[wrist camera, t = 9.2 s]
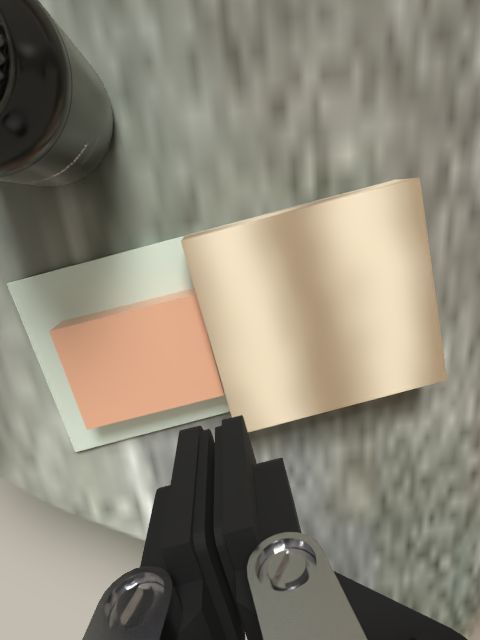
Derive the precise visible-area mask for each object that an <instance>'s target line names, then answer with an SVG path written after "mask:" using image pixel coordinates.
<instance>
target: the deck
mask: <svg viewBox="0 0 480 640" xmlns="http://www.w3.org/2000/svg"><path fill="white" fill-rule="evenodd" d="M181 243H182V247H183V250H184V254H185V257H186V261H187V264H188V267H189V271H190V274H191V278H192V281H193V285H194V288H195V292H196V295H197V298H198V302H199V305H200V309H201V312H202V316H203V319H204V323H205V326H206V330H207V333H208V336H209V340H210V343H211V347H212V350H213V354H214V357H215V361H216V364H217V367H218V371H219V374H220V378H221V381H222V385H223V388H224V392H225V395H226V399H227V402H228V405H229V409H230V412H231V416H232V417H236V416H240V415H242V416H243V418H244V421H245V424H246V428H247V431H248V432H252V431H255V430H259V429H263V428H267V427H271V426H274V425H278V424H282V423H286V422H290V421H293V420H297V419H301V418H305V417H309V416H312V415H316V414H320V413H324V412H328V411H331V410H335V409H339V408H343V407H347V406H350V405H354V404H358V403H362V402H366V401H369V400H373V399H377V398H381V397H385V396H388V395H392V394H396V393H400V392H404V391H407V390H411V389H415V388H419V387H423V386H426V385H430V384H434V383H438V382H442V381H445V380H447V377H446V369H445V362H444V354H443V347H442V340H441V332H440V325H439V317H438V310H437V303H436V295H435V288H434V280H433V273H432V266H431V258H430V251H429V243H428V236H427V229H426V221H425V214H424V206H423V199H422V191H421V184H420V178H411V179H402V180H394V181H390V182H386V183H383V184H379V185H375V186H371V187H368V188H364V189H360V190H356V191H353V192H349V193H345V194H341V195H337V196H334V197H330V198H326V199H322V200H319V201H315V202H311V203H307V204H304V205H300V206H296V207H292V208H289V209H285V210H281V211H277V212H273V213H270V214H266V215H262V216H258V217H255V218H251V219H247V220H243V221H240V222H236V223H232V224H228V225H225V226H221V227H217V228H213V229H209V230H206V231H202V232H198V233H194V234H191V235H187V236H184V237H183V239H182V240H181Z"/></svg>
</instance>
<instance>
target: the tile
mask: <svg viewBox="0 0 480 640" xmlns="http://www.w3.org/2000/svg"><path fill="white" fill-rule="evenodd" d="M49 332H50V334H51V337H52V340H53V342H54V345H55V348H56V350H57V353H58V355H59V358H60V361H61V363H62V366H63V369H64V371H65V374H66V376H67V379H68V382H69V384H70V387H71V390H72V392H73V395H74V397H75V400H76V403H77V405H78V408H79V411H80V413H81V416H82V418H83V421H84V424H85V426H86V429H87V430H88V429H92V428H96V427H100V426H104V425H108V424H112V423H116V422H120V421H124V420H128V419H132V418H136V417H140V416H144V415H148V414H152V413H156V412H160V411H164V410H168V409H172V408H176V407H179V406H183V405H187V404H191V403H195V402H199V401H203V400H207V399H211V398H215V397H219V396H223V395H224V388H223V385H222V381H221V378H220V374H219V371H218V367H217V364H216V361H215V357H214V354H213V350H212V347H211V343H210V340H209V336H208V333H207V330H206V326H205V323H204V319H203V316H202V312H201V309H200V305H199V302H198V298H197V295H196V292H195V288H191V289H187V290H183V291H179V292H175V293H171V294H167V295H163V296H159V297H156V298H152V299H148V300H144V301H140V302H136V303H132V304H128V305H124V306H120V307H116V308H112V309H108V310H104V311H100V312H96V313H92V314H88V315H84V316H80V317H76V318H72V319H68V320H64V321H61V322H60V323H59V324H58V325H56V326H55V327H54V328H53V329H51V330H50V331H49Z"/></svg>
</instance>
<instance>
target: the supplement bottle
mask: <svg viewBox="0 0 480 640" xmlns="http://www.w3.org/2000/svg"><path fill="white" fill-rule="evenodd" d="M112 132H113V113H112V107H111V103H110V99H109V96H108V94H107V91H106V89H105V87H104V85H103V83H102V81H101V79H100V78H99V76H98V75H97V73H96V72H95V70H94V69H93V68H92V66H91V65H90V64H89V62H88V61H87V60H86V59H85V58H84V56H83V55H82V54H81V53H80V51H79V50H78V49H77V48H76V46H75V45H74V44H73V43H72V41H71V40H70V39H69V38H68V37H67V35H66V34H65V33H64V32H63V30H62V29H61V28H60V27H59V25H58V24H57V23H56V22H55V21H54V19H53V18H52V17H51V16H50V14H49V13H48V12H47V11H46V9H45V8H44V7H43V6H42V5H41V4H40V2H39V1H38V0H0V181H4V182H12V183H20V184H29V185H38V186H61V185H66V184H70V183H73V182H76V181H78V180H80V179H82V178H84V177H85V176H87V175H88V174H90V173H91V172H92V171H93V170H94V169H95V168H96V167H97V166H98V165H99V164H100V162H101V161H102V159H103V158H104V156H105V154H106V152H107V150H108V148H109V145H110V142H111V138H112Z"/></svg>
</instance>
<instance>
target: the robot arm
mask: <svg viewBox="0 0 480 640" xmlns="http://www.w3.org/2000/svg"><path fill="white" fill-rule="evenodd" d="M245 633H246V636H247V639H248V640H467V639H466V638H465V637H463V636H462V635H460V634H459V633H457V632H456V631H454V630H453V629H451V628H449V627H447V626H445V625H443V624H441V623H439V622H437V621H435V620H433V619H431V618H429V617H427V616H425V615H422V614H420V613H418V612H416V611H414V610H412V609H410V608H408V607H406V606H404V605H402V604H400V603H398V602H396V601H394V600H392V599H390V598H388V597H386V596H384V595H382V594H379V593H377V592H375V591H373V590H371V589H369V588H367V587H365V586H363V585H361V584H359V583H357V582H355V581H353V580H351V579H349V578H347V577H345V576H343V575H341V574H339V573H336V572H334V571H333V569H332V567H331V565H330V563H329V561H328V559H327V557H326V555H325V553H324V551H323V549H322V548H321V546H320V545H319V544H318V542H317V541H316V540H314V539H313V538H311V537H310V536H308V535H305V534H302V533H301V529H300V525H299V521H298V517H297V513H296V509H295V504H294V501H293V497H292V493H291V489H290V485H289V481H288V477H287V473H286V470H285V466H284V462H283V458H278V459H274V460H270V461H266V462H262V463H258V464H257V463H256V460H255V456H254V453H253V449H252V446H251V442H250V439H249V435H248V431H247V428H246V424H245V421H244V418H243V416H242V415H240V416H236V417H232V418H228V419H224V420H222V426H219V427H216V428H215V442H214V439H213V436H212V433H211V431H210V429H207V430H203V428H202V427H201V426H197V427H193V428H189V429H185V430H181V431H180V432H179V437H178V444H177V450H176V456H175V462H174V468H173V474H172V480H171V485H169V486H165V487H161V488H159V489H157V491H156V494H155V499H154V504H153V509H152V513H151V518H150V523H149V528H148V532H147V537H146V542H145V547H144V551H143V556H142V561H141V566H140V568H136V569H133V570H132V571H130V572H127V573H125V574H124V575H122V576H121V577H120V578H118V579H117V580H116V581H115V582H113V583H112V585H111V586H110V587H109V588H108V589H107V590H106V591H105V593H104V594H103V596H102V598H101V599H100V601H99V603H98V605H97V608H96V610H95V612H94V614H93V617H92V619H91V621H90V624H89V626H88V628H87V630H86V633H85V635H84V637H83V639H82V640H245Z"/></svg>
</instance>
